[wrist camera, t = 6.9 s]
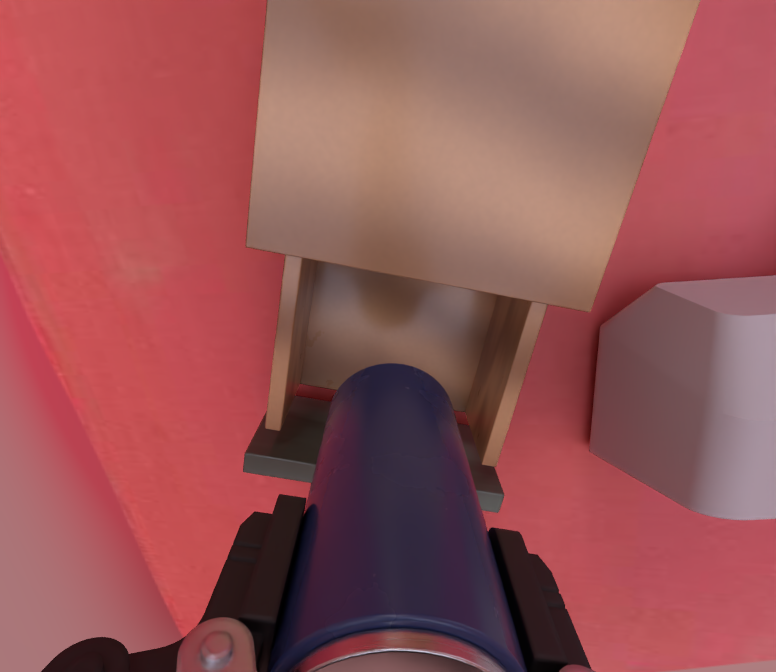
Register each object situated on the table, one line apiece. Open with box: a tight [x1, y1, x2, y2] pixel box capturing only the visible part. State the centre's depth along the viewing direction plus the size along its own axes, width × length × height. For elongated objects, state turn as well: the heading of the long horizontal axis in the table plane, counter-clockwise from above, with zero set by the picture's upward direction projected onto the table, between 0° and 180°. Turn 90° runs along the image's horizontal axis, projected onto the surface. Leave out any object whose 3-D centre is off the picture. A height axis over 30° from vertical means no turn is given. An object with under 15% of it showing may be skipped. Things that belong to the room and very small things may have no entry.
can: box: [266, 363, 527, 672], centre depth 13 cm, size 5×5×11 cm
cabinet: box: [246, 0, 700, 312], centre depth 21 cm, size 16×15×9 cm
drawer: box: [243, 255, 548, 513], centre depth 26 cm, size 20×14×7 cm
